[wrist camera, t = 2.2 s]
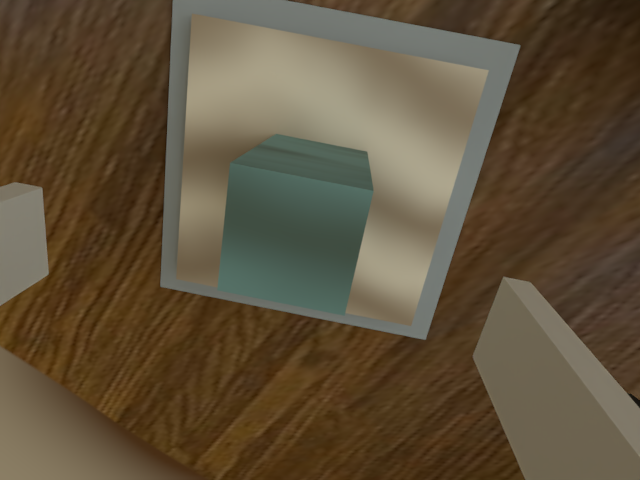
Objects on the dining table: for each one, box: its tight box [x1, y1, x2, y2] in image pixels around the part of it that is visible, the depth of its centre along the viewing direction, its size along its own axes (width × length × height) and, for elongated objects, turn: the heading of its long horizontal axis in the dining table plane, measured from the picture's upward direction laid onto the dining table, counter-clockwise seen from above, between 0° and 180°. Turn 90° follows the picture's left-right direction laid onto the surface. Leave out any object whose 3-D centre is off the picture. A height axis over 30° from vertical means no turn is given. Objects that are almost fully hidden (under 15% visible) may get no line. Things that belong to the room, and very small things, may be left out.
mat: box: [160, 0, 521, 340], centre depth 25 cm, size 18×18×1 cm
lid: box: [176, 14, 489, 326], centre depth 20 cm, size 15×15×10 cm
